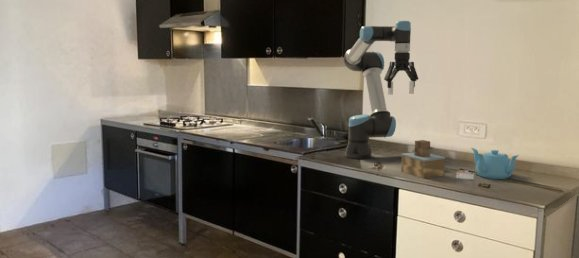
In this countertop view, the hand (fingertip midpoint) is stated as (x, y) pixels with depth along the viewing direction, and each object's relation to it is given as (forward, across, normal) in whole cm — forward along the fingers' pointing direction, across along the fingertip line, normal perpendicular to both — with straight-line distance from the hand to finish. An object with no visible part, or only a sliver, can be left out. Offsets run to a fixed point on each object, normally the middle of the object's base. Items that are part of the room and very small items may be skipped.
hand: (401, 94), depth 250 cm
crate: (+37, -4, -22) cm, 43 cm away
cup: (+37, +7, -12) cm, 39 cm away
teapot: (+37, +22, -40) cm, 59 cm away
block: (+28, -5, -22) cm, 36 cm away
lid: (+29, -4, -22) cm, 36 cm away
